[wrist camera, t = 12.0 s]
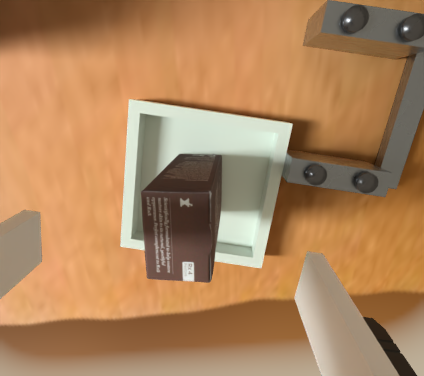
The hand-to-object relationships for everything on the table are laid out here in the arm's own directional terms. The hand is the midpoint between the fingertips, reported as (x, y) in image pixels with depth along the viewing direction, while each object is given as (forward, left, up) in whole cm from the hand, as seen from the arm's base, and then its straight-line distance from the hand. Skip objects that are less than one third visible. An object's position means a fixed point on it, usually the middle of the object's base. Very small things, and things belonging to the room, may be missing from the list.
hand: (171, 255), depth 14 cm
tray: (0, 0, -15) cm, 15 cm away
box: (0, 0, -15) cm, 15 cm away
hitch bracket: (+13, +9, -15) cm, 22 cm away
